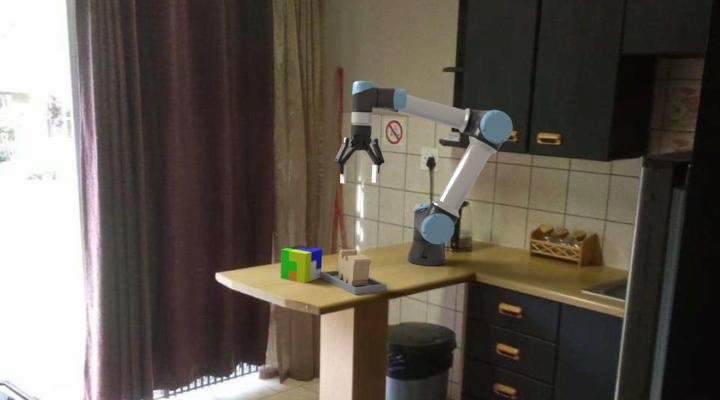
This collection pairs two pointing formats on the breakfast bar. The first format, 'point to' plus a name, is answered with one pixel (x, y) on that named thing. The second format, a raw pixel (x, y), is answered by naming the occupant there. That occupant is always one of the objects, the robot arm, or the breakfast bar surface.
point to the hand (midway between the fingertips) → (358, 183)
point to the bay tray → (334, 279)
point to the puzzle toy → (301, 263)
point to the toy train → (353, 267)
